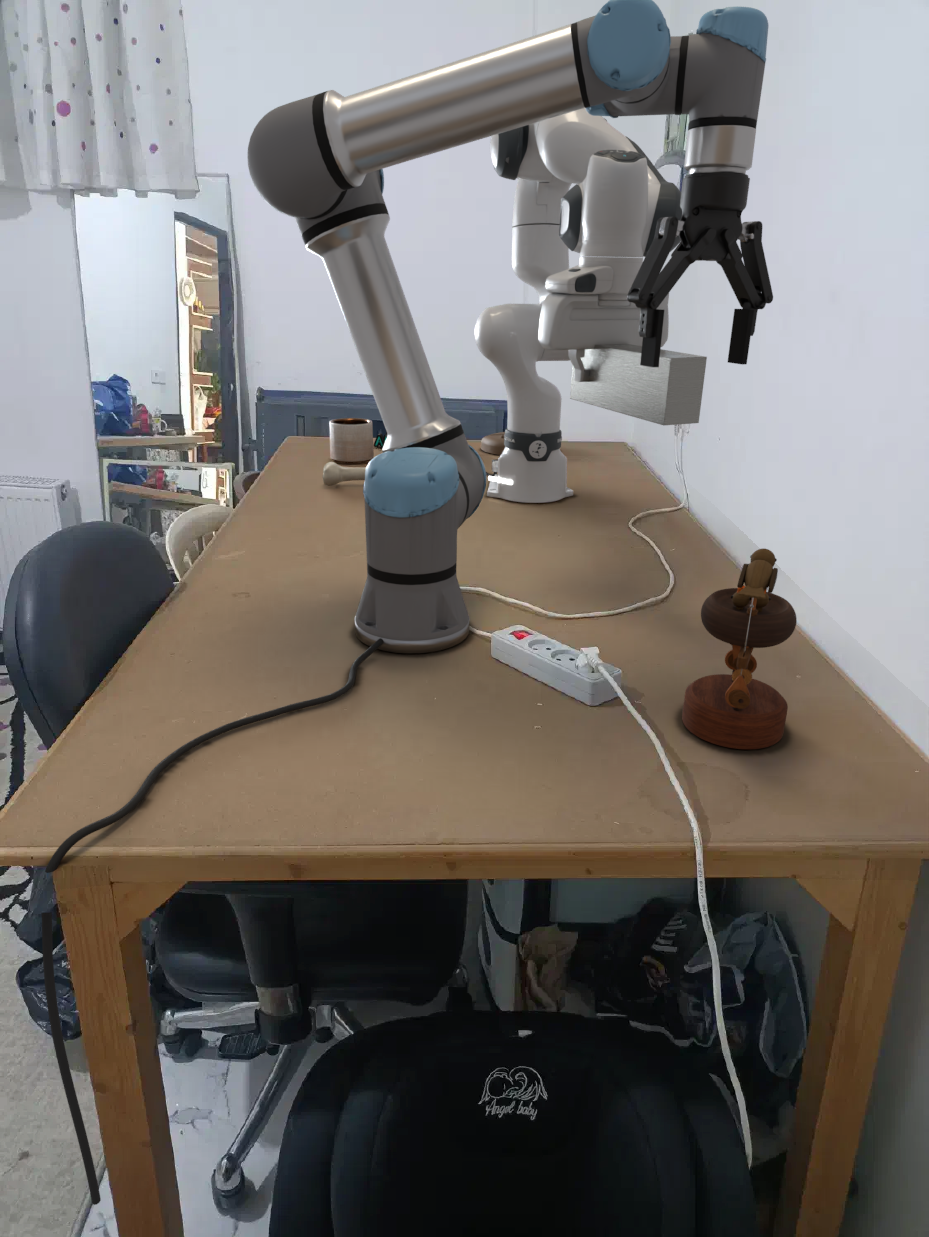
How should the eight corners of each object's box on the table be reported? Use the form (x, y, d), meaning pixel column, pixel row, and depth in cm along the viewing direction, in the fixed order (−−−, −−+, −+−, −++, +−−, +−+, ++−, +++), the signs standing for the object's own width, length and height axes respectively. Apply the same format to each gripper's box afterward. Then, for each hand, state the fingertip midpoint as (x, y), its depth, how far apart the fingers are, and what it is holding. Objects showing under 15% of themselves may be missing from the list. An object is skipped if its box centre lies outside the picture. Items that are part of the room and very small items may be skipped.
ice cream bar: (486, 465, 210) (486, 448, 209) (479, 444, 236) (479, 428, 235) (570, 465, 211) (571, 449, 210) (554, 444, 237) (554, 429, 236)
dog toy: (411, 480, 194) (411, 458, 192) (414, 486, 189) (414, 464, 187) (322, 482, 191) (321, 460, 189) (322, 488, 185) (321, 465, 184)
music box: (804, 761, 84) (822, 570, 76) (690, 761, 85) (697, 574, 78) (770, 691, 98) (782, 524, 90) (673, 692, 99) (677, 527, 92)
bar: (698, 423, 111) (707, 356, 107) (663, 425, 108) (671, 358, 105) (601, 397, 130) (605, 340, 127) (569, 398, 128) (573, 341, 125)
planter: (327, 456, 217) (325, 418, 214) (369, 454, 220) (368, 417, 217) (334, 465, 208) (332, 425, 204) (377, 463, 211) (376, 424, 207)
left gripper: (775, 182, 105) (750, 359, 113) (607, 169, 96) (592, 364, 104) (822, 177, 99) (792, 365, 107) (646, 162, 89) (628, 370, 97)
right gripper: (656, 279, 126) (647, 375, 131) (535, 278, 118) (531, 380, 123) (683, 281, 120) (672, 380, 126) (558, 279, 113) (552, 386, 118)
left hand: (694, 365), depth 105 cm, fingers open, 13 cm apart
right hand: (601, 380), depth 125 cm, fingers closed on bar, 5 cm apart
